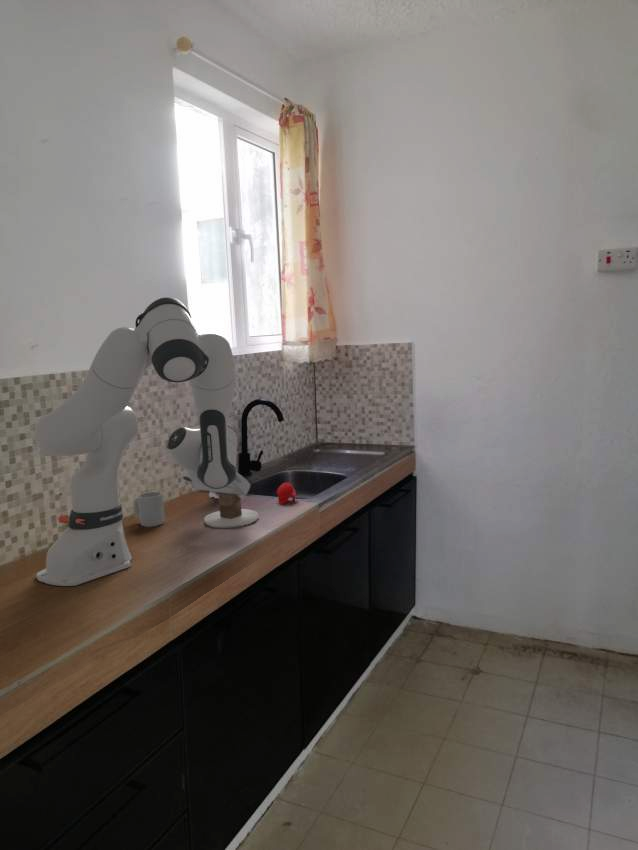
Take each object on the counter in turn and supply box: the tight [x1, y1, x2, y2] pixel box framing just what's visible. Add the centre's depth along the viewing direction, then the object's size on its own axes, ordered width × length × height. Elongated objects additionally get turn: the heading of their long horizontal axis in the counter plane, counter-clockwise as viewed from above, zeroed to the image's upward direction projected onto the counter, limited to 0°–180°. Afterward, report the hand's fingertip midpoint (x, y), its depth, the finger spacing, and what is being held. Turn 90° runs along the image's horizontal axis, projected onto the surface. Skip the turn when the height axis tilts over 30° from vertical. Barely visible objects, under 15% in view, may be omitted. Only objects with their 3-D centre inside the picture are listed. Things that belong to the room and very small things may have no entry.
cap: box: [276, 482, 297, 505], centre depth 206 cm, size 8×6×6 cm
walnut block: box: [218, 492, 242, 519], centre depth 187 cm, size 4×4×8 cm
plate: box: [204, 508, 259, 529], centre depth 188 cm, size 16×16×1 cm
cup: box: [133, 491, 166, 528], centre depth 188 cm, size 7×10×9 cm
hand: (231, 496), depth 188 cm, fingers open, 7 cm apart
